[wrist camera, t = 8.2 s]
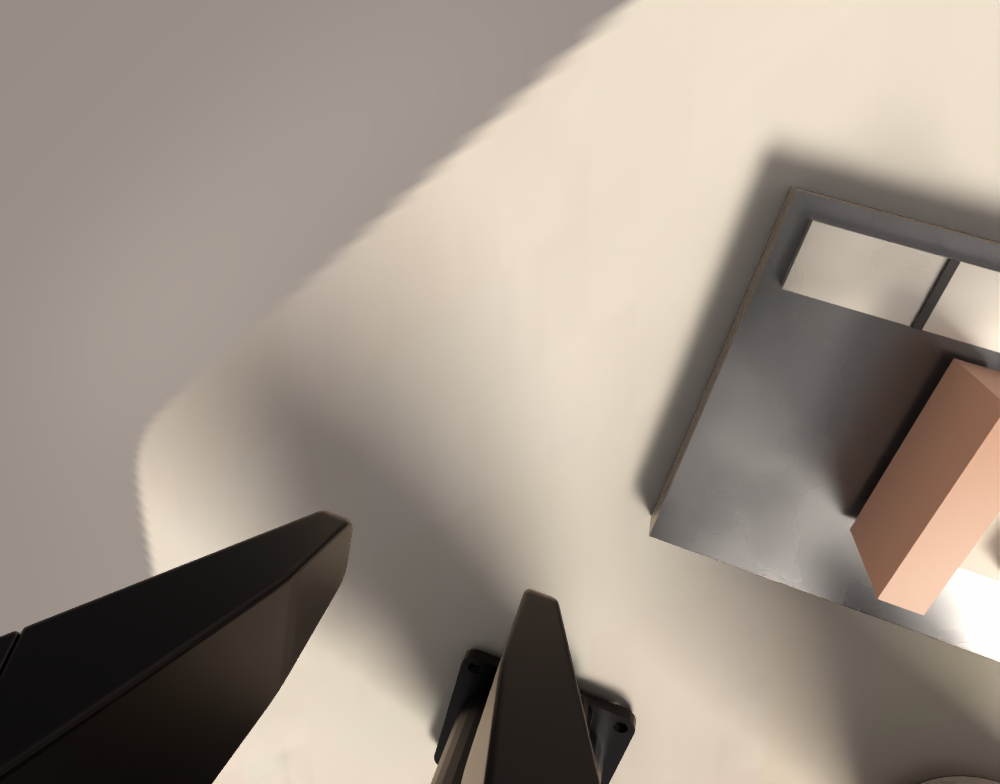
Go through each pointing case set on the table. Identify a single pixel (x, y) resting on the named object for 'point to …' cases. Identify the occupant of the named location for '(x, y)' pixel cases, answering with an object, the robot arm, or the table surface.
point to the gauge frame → (834, 403)
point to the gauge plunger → (938, 495)
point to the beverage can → (960, 780)
